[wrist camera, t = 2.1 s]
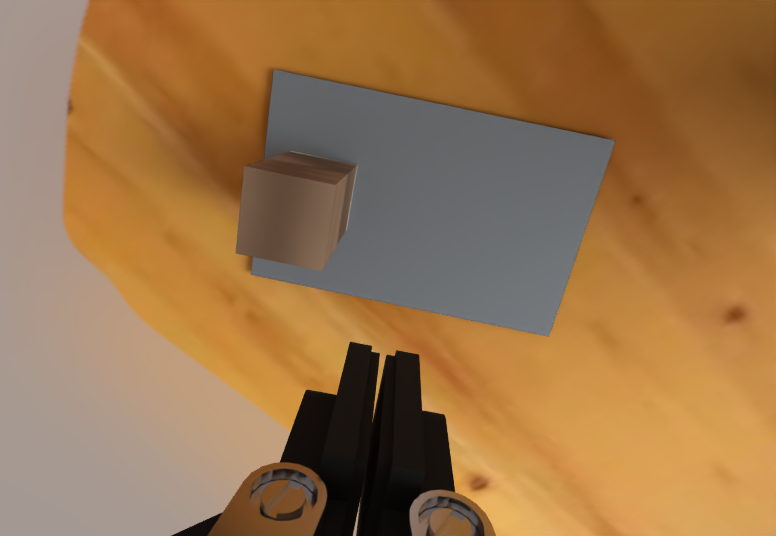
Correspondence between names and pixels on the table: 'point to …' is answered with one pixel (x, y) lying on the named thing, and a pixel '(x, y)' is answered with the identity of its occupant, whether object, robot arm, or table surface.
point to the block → (295, 208)
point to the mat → (442, 202)
